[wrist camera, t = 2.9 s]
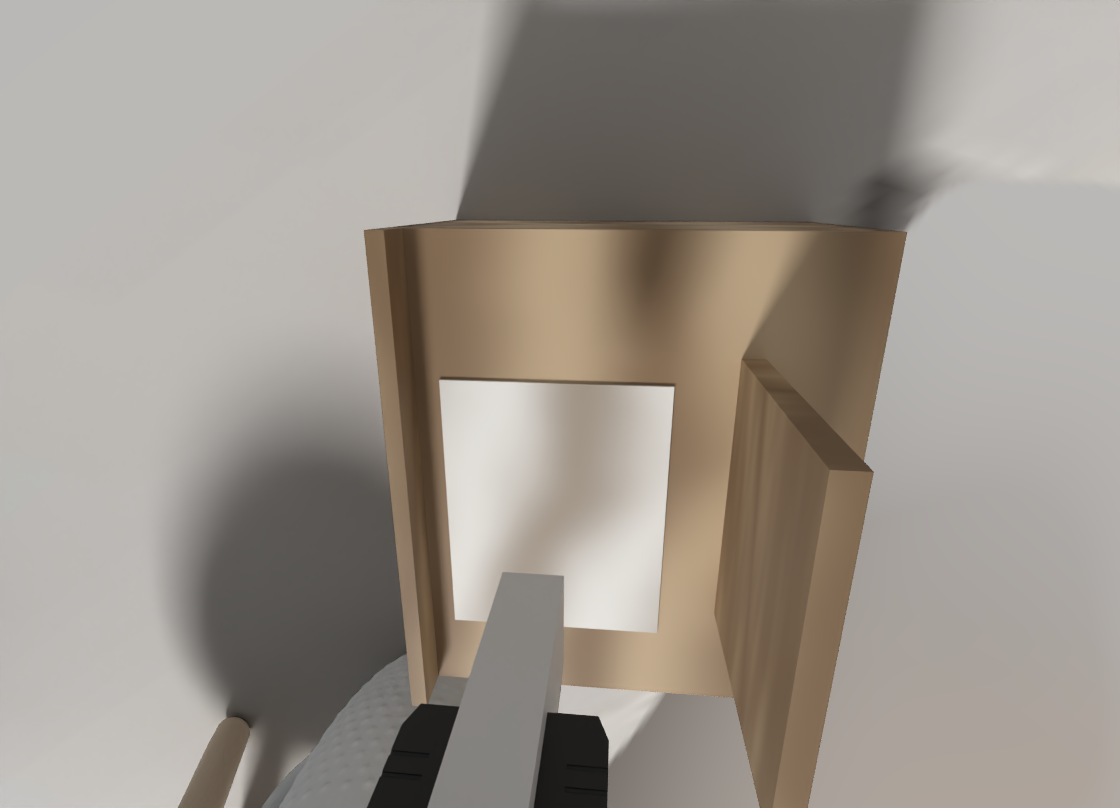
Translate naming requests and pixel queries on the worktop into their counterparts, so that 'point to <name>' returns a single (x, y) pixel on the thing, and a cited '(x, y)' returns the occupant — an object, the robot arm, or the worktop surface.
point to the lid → (638, 453)
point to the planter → (217, 766)
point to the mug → (359, 742)
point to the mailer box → (642, 225)
